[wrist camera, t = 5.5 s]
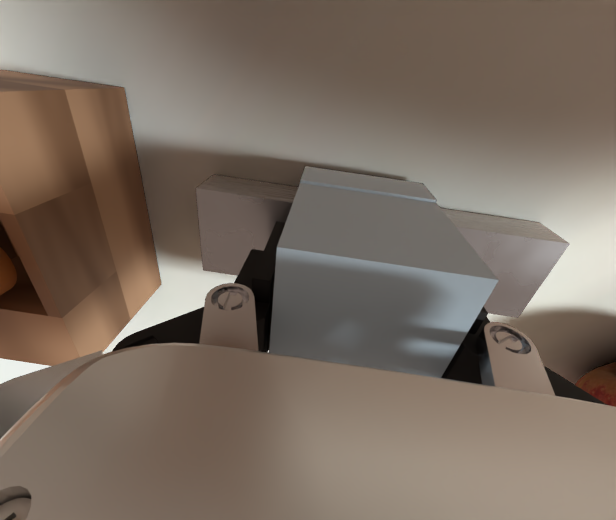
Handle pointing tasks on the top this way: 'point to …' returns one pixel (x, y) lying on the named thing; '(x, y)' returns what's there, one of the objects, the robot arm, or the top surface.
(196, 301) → the top surface
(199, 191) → the rail
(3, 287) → the peg
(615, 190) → the top surface
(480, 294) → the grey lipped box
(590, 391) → the apple
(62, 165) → the tan slotted block
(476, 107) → the top surface
